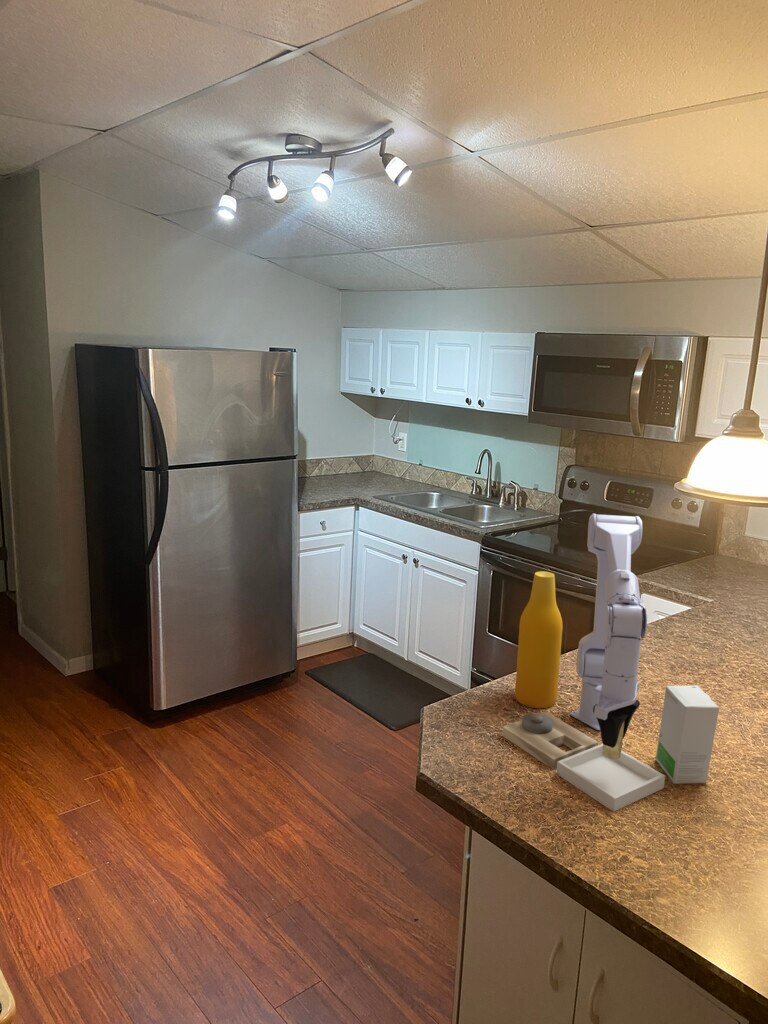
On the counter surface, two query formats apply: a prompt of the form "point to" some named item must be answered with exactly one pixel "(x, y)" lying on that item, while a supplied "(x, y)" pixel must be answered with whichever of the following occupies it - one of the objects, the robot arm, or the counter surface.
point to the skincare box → (686, 734)
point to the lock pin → (616, 751)
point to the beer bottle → (539, 645)
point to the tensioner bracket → (547, 738)
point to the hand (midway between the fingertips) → (613, 741)
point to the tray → (610, 777)
